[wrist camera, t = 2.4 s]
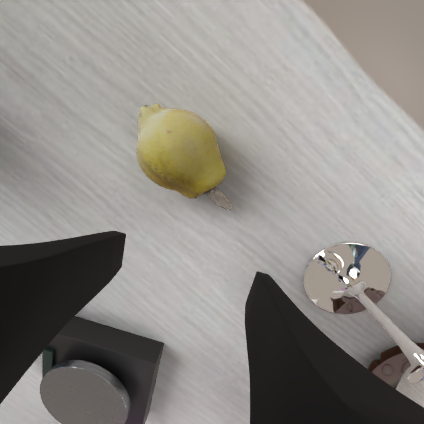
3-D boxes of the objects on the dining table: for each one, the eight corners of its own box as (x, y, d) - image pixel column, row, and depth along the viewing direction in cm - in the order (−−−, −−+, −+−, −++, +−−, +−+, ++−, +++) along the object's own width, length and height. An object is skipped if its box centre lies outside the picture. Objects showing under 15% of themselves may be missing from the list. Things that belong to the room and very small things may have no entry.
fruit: (207, 226, 19) (122, 152, 17) (248, 180, 19) (169, 101, 17) (221, 244, 13) (95, 136, 11) (279, 178, 14) (167, 59, 11)
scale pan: (46, 411, 23) (39, 419, 23) (46, 348, 21) (39, 355, 20) (125, 437, 23) (121, 447, 22) (136, 376, 20) (132, 384, 19)
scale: (59, 382, 27) (40, 406, 24) (62, 312, 24) (39, 331, 21) (149, 410, 26) (139, 439, 24) (164, 343, 23) (154, 366, 21)
